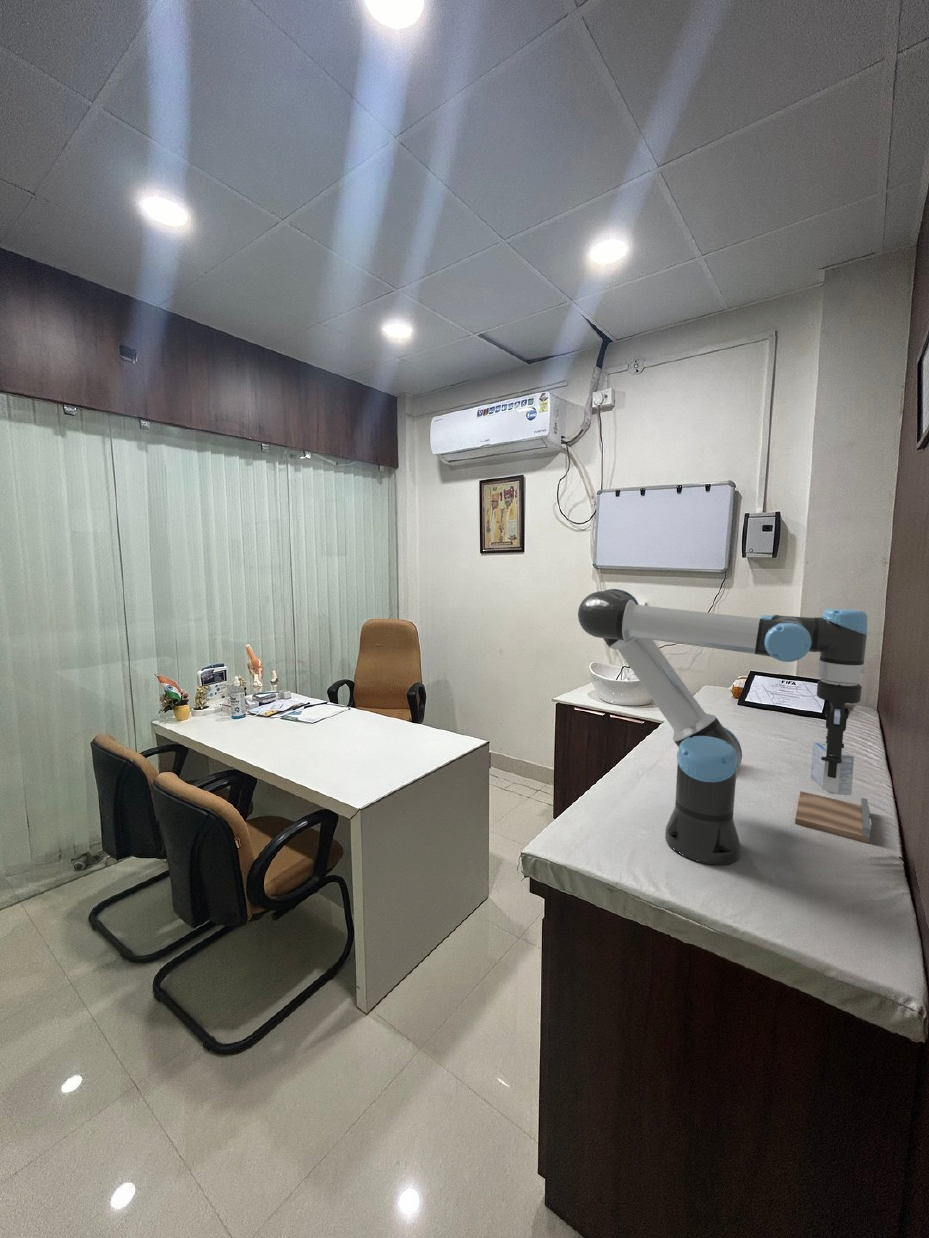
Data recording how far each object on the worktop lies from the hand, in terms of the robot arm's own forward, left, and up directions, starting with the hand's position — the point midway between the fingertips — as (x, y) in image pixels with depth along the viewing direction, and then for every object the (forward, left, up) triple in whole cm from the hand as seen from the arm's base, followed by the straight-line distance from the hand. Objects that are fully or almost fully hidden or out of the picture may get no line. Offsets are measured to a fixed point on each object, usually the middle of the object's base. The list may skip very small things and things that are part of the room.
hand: (830, 782), depth 108 cm
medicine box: (0, 0, -1) cm, 1 cm away
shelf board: (+18, -1, -15) cm, 24 cm away
